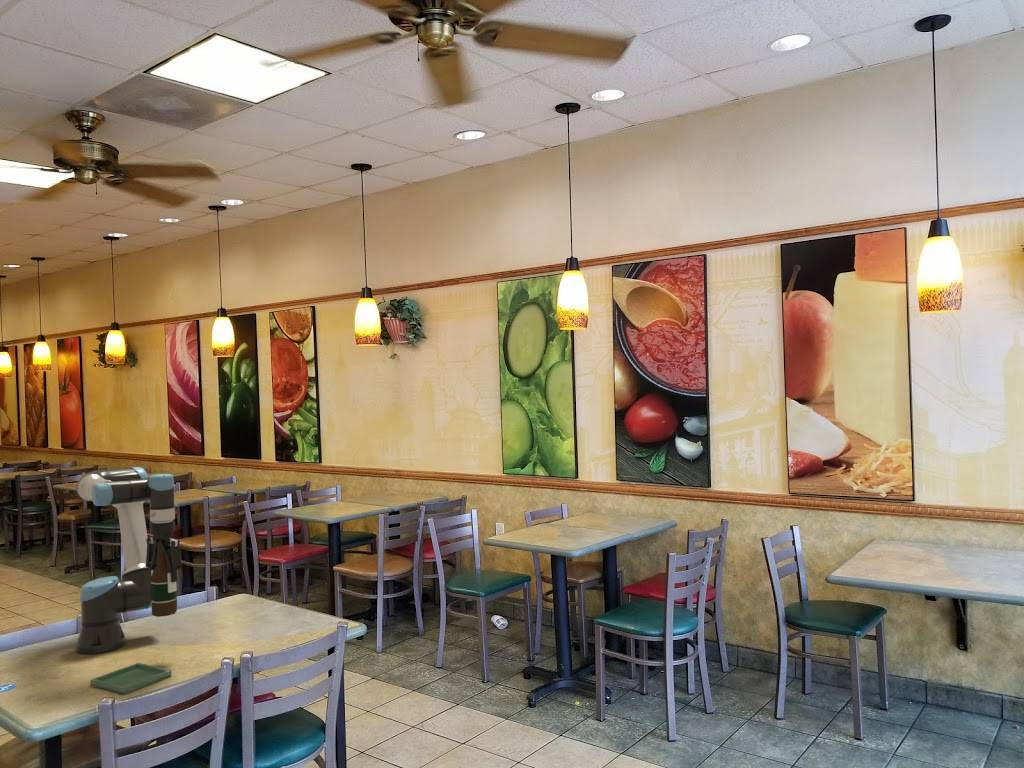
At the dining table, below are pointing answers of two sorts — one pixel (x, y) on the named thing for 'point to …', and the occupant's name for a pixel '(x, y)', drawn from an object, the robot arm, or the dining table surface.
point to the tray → (130, 678)
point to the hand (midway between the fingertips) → (164, 590)
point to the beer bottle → (162, 588)
